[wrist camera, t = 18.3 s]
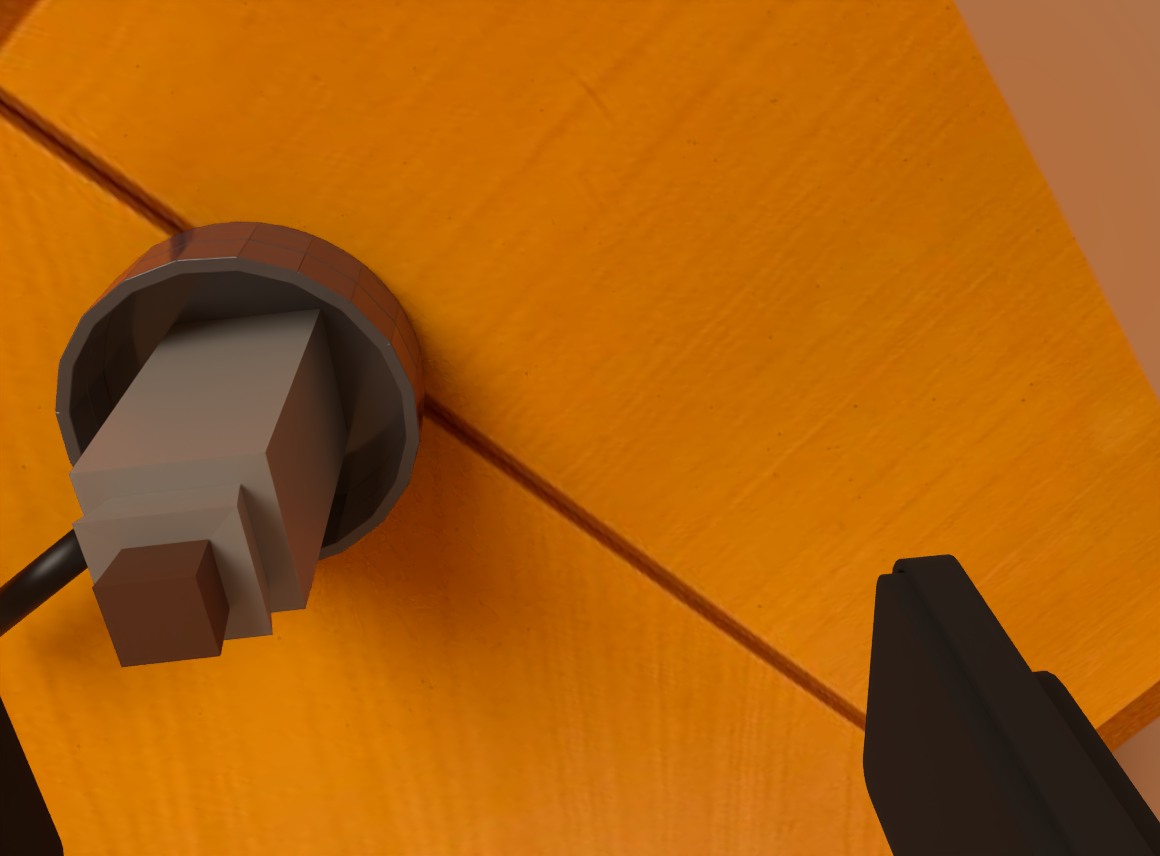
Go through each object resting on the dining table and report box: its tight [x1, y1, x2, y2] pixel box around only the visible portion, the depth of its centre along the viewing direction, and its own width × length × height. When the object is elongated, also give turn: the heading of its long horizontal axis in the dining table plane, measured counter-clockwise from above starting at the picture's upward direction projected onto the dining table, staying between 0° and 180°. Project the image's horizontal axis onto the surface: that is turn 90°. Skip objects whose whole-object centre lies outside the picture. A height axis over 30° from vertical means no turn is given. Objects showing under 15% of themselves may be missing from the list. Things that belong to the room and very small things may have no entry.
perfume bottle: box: [69, 309, 348, 667], centre depth 42 cm, size 7×7×18 cm
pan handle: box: [0, 528, 88, 637], centre depth 51 cm, size 13×2×2 cm, turn 128°
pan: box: [55, 222, 425, 560], centre depth 49 cm, size 15×15×5 cm
